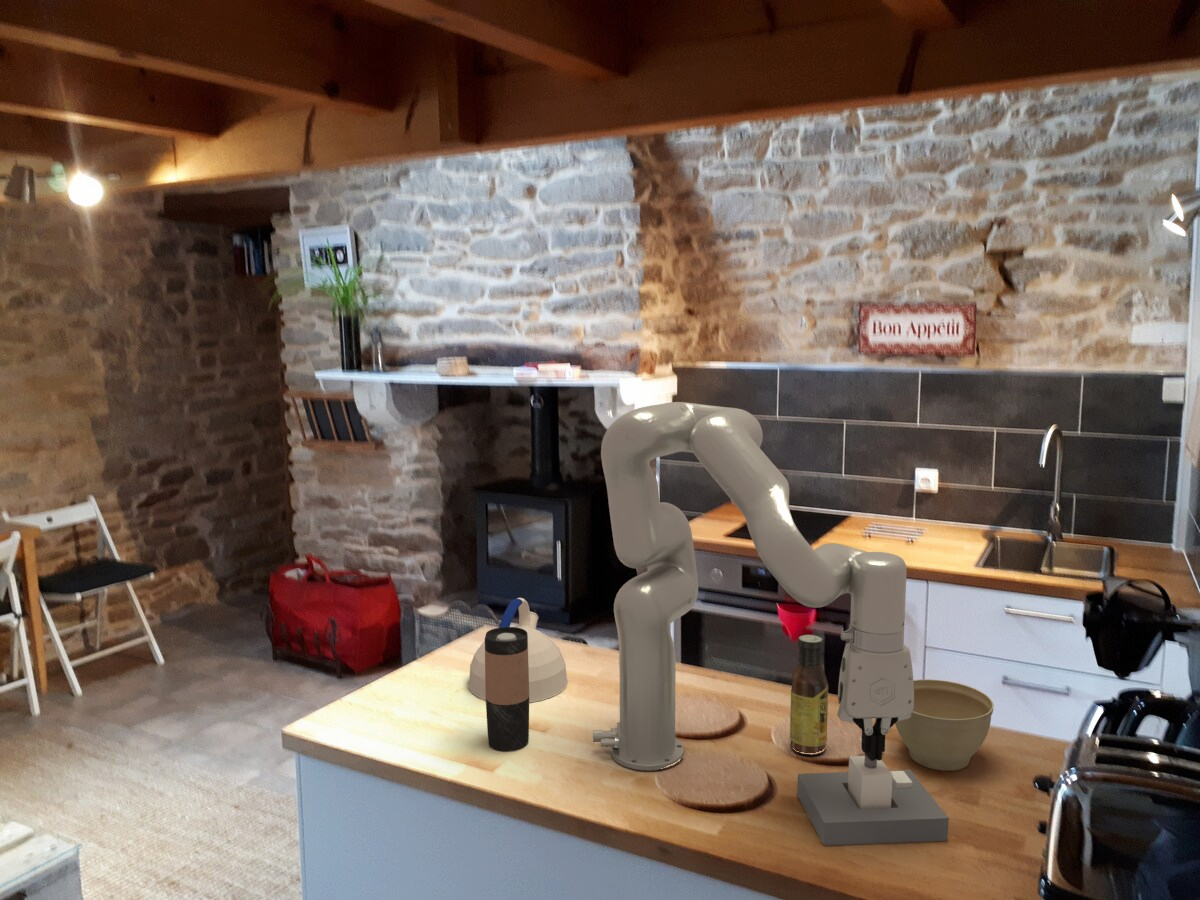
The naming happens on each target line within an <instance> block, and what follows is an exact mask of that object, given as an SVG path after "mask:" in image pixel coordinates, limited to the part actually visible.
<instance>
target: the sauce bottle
mask: <svg viewBox="0 0 1200 900" xmlns="http://www.w3.org/2000/svg"><path fill="white" fill-rule="evenodd" d="M797 643H798V649H799V653H798V654H799V655H798V656H799V658H798V665H797V666H796V668H794V670H793V672H792V675H791V689H790V715H789V716H790V722H789V739H790V744H789V745H790V748H791V747H792V748H794V749H795V750H796V751H799V752H804V753H816V752H819V751H822V750H823V749H824V748H825V746H827V742H828V736H827V735H828V716H829V715H828V714H829V713H828V710H829V705H828V703H829V700H828V699H829V683H828V679H827V676H826V673H825V670H824V666H823V664H822V663H823V661H822V648H823V646H824V645H823V644H824V643H823V638H822V637H821V636H817V635H813V634H804V635H800V636H799V637H798V642H797ZM792 748H791V749H792ZM825 749H826V748H825Z"/></svg>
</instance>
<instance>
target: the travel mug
mask: <svg viewBox="0 0 1200 900" xmlns="http://www.w3.org/2000/svg"><path fill="white" fill-rule="evenodd" d="M484 641H485V693H486V700H485V710H486V726H487V728H486V729H487V742H488V746H489V747H490V749H493V750H495V751H497V752H505V753H506V752H508V753H509V752H516V751H519V750H521V749H523V748H525V747H526V746H527V745H528V744H529V742H530V741H529V740H530V737H529V736H530V703H529V665H528V634H527V632H526V631H525V630H524V629H521V628H517V627H516V626H510V627H500V628H499V627H496V628H491V629H490V630H488V631H486V633H485V637H484Z"/></svg>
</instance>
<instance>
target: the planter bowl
mask: <svg viewBox="0 0 1200 900" xmlns="http://www.w3.org/2000/svg"><path fill="white" fill-rule="evenodd" d="M913 681H914V709H913V712H912V713H911V717H910V718H908V719H904V720H901V721H897V722H896V723H895V724H894V725H895V727H896V730H897V733H898V735H899V736H900V738H901V740H902V742H903V744H905V746H906V747H907V748H908V752H909V756H910V758H911V759H912V761H914V762H916V763H917V764H919V765H921V766H923V767H924V768H929V769H931V770H937V771H945V772H946V771H947V772H949V771H959V770H961V769H964V768H966V767H968V765H969V764H970V760H971V758H972V757H973V756H974V755H975V754H976V753H977V752H978V751H979V749H980V748H981V747H982V746H983V744H984V742H985V740H986V739H987V736H988V733H989V730H990V726H991V721H992V715H993V713H994V712H993V711H994V702H993V700H992V699H991V697H990V696H989V695H987V694H986V693H984V692H983V691H981V690H980V689H977V688H975V687H972V686H969V685H967V684H963V683H960V682H954V681H949V680H943V679H942V680H941V679H933V678H932V679H930V678H929V679H926V678H922V679H913ZM909 701H910V700H909Z"/></svg>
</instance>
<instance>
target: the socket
mask: <svg viewBox="0 0 1200 900" xmlns="http://www.w3.org/2000/svg"><path fill="white" fill-rule="evenodd" d="M889 771H890V772H891V774H892V775H893V778H892V796H891V808H873V809H858V808H857V806H856V804H855V803H854V801H853V800H852V798H851V796H850V795H849V793H848V772H849V771H843V772H842V771H840V772H839V771H837V772H836V771H835V772H811V773H809V772H808V773H807V772H806V773H797V781H796V782H797V784H796V785H797V787H796V789H797V792H796V795H797V797H798V799H799V801H800V803H801V805H802V806H803V809H804V810H805V812H806V814H807V816H808V819H809V820H810V822H811V824H812V826H813V827H814V830H815V832H816V833H817V836H818V837H819V839H820V841H821V844H822V845H823V846H824V847H827V846H850V845H852V846H853V845H874V844H875V845H876V844H877V845H878V844H900V843H901V844H903V843H925V842H927V843H928V842H948V838H949V821H950V820H949V817H948V815H947V814H946V813H945V811H944V810H943V809H942V807H940V805H939V804H938V802H937V801H936V800H935V799H934V798H933V796H932V795H931V794H930V793H929V792H928V790H927V789H926V787H924V785H923V784H922V782H920V780H919V779H918V777H917V776H916V775H915V774H914V773H913V771H912V770H911V769H896V770H889Z"/></svg>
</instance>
